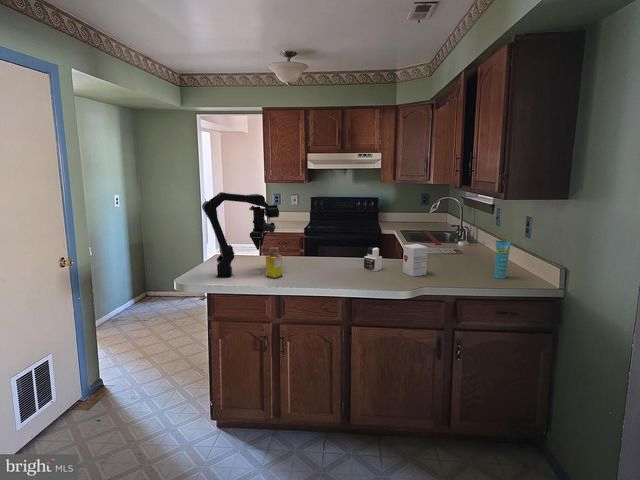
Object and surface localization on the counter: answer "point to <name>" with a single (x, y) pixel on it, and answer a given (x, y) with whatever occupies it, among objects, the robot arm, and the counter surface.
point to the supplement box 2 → (415, 259)
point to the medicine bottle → (373, 260)
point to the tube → (502, 258)
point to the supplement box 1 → (274, 266)
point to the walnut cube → (274, 251)
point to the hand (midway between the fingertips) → (259, 247)
